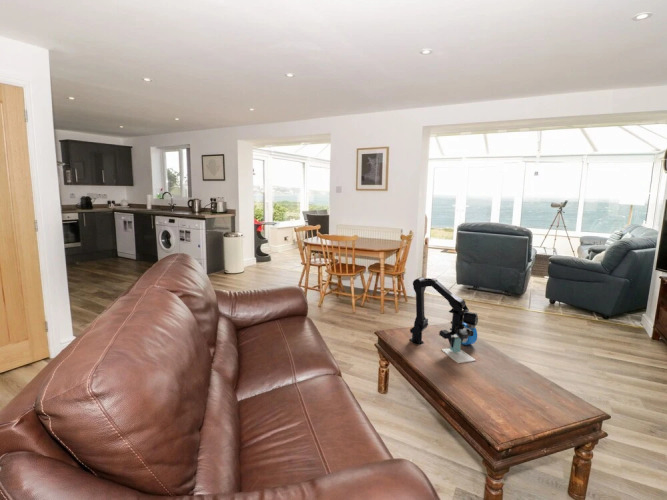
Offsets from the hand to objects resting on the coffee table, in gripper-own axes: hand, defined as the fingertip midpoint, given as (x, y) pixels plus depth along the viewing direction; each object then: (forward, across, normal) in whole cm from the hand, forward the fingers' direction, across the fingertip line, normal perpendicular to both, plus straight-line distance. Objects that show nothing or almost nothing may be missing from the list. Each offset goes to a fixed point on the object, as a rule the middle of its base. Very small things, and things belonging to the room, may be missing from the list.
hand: (455, 347), depth 203 cm
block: (+2, 0, 0) cm, 2 cm away
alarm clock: (+4, +14, +10) cm, 17 cm away
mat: (+4, 0, -3) cm, 5 cm away
